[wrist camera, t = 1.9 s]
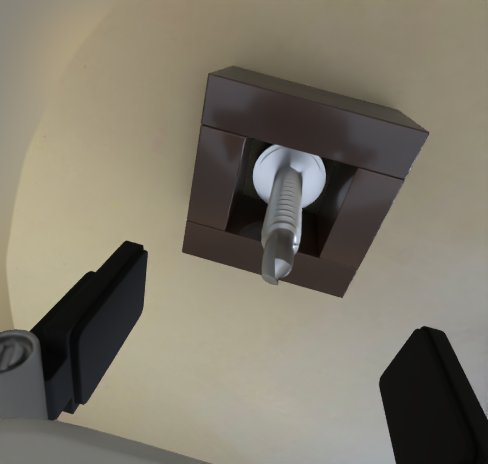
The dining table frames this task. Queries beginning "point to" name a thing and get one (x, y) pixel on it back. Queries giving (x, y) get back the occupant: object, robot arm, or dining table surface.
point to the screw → (285, 203)
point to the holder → (305, 140)
